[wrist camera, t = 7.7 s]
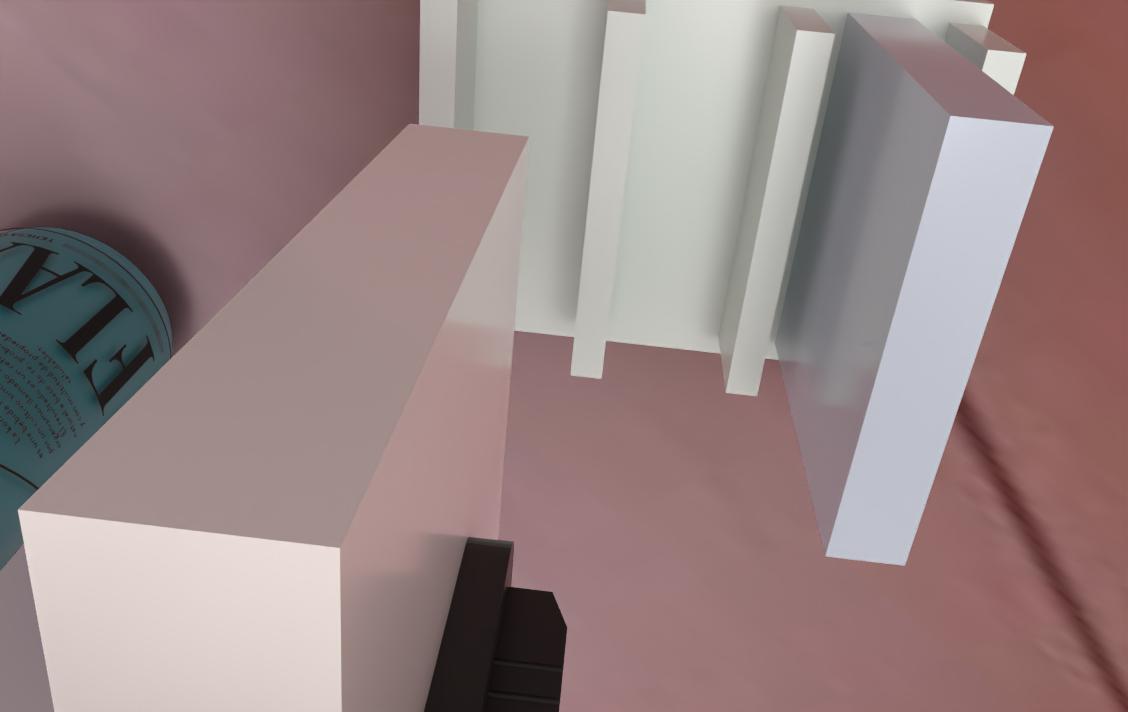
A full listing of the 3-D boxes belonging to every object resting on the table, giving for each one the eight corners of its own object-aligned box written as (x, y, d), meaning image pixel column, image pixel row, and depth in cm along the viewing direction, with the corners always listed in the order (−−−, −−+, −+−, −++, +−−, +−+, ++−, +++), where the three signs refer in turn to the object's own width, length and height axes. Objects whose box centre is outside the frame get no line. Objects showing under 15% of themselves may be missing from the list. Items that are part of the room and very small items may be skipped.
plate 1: (529, 136, 13) (339, 549, 5) (489, 656, 17) (347, 1371, 9) (409, 123, 13) (17, 508, 5) (397, 645, 17) (170, 1347, 9)
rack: (448, -56, 24) (416, -34, 20) (984, -2, 23) (1039, 29, 20) (439, 309, 29) (412, 374, 25) (881, 358, 28) (912, 431, 25)
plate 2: (915, 19, 23) (1053, 126, 15) (831, 349, 27) (905, 565, 20) (847, 12, 23) (950, 115, 15) (775, 343, 27) (825, 556, 20)
